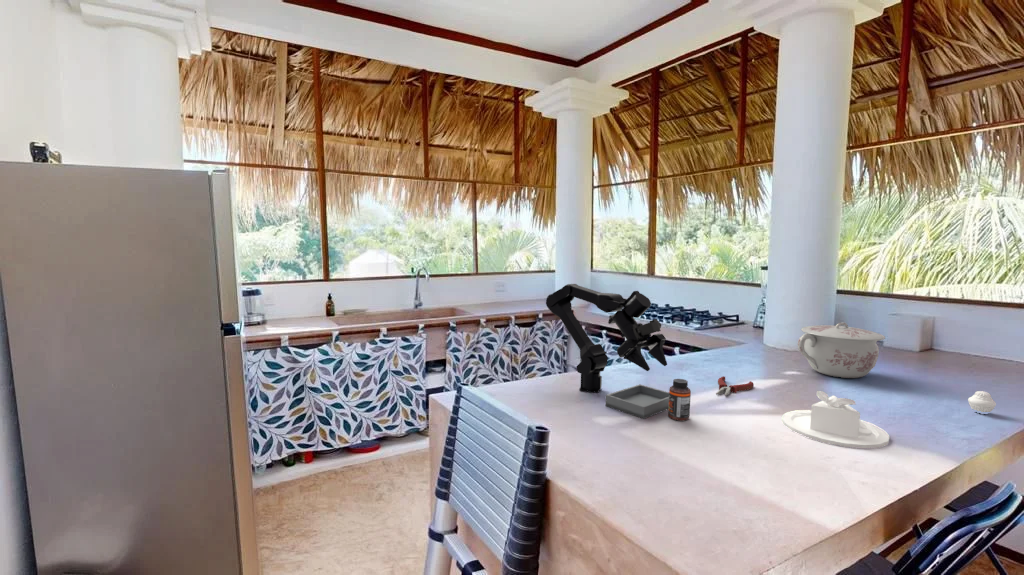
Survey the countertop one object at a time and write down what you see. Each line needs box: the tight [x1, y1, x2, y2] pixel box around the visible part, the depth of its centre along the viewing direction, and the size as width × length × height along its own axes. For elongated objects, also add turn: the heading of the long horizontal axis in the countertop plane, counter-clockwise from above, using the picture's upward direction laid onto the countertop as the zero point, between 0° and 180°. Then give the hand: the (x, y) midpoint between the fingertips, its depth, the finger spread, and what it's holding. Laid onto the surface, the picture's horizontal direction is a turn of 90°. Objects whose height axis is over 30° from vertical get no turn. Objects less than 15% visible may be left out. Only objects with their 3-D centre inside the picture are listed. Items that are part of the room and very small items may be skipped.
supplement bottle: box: [667, 378, 692, 422], centre depth 140 cm, size 6×6×11 cm
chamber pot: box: [797, 321, 886, 379], centre depth 189 cm, size 28×28×21 cm
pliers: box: [715, 376, 754, 397], centre depth 168 cm, size 12×20×3 cm, turn 140°
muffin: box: [967, 390, 997, 413], centre depth 147 cm, size 6×6×7 cm
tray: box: [605, 383, 669, 419], centre depth 150 cm, size 14×18×4 cm
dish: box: [781, 390, 891, 450], centre depth 133 cm, size 25×25×11 cm
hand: (657, 367), depth 145 cm, fingers open, 9 cm apart
